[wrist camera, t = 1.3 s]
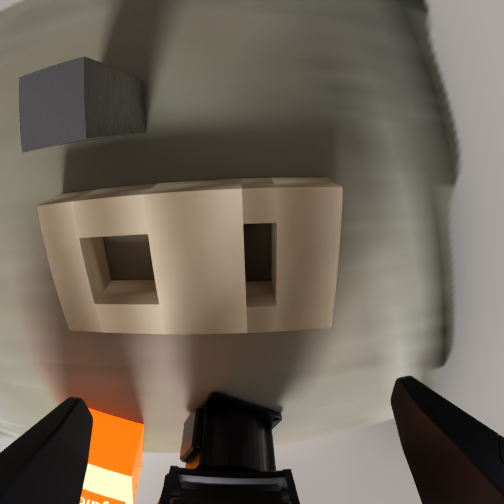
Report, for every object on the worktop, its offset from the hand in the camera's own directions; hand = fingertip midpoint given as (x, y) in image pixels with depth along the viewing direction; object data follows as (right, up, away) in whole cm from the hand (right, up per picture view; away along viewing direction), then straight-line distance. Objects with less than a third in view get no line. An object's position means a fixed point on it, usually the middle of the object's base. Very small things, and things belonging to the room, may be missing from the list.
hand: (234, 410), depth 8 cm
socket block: (-3, +4, +11) cm, 12 cm away
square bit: (-7, +12, +8) cm, 16 cm away
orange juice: (-14, -14, +19) cm, 27 cm away
